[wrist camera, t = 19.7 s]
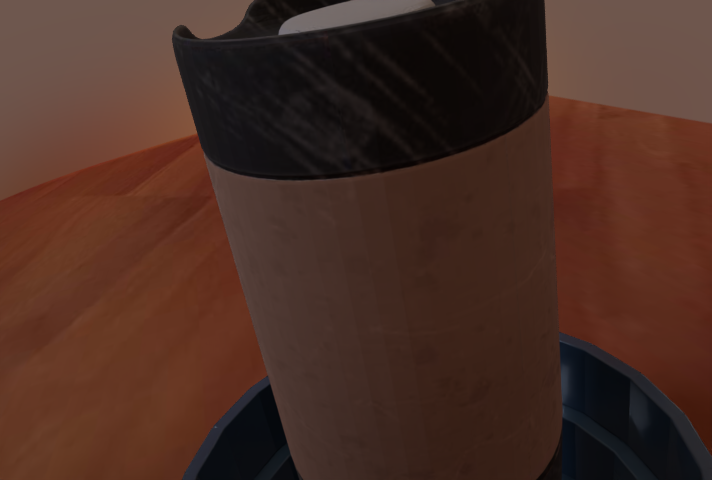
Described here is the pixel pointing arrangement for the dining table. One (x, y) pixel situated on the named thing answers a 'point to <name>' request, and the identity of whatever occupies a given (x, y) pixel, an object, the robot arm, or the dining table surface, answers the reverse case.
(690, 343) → the dining table surface
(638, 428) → the blue pet bowl
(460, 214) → the travel mug
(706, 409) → the dining table surface
